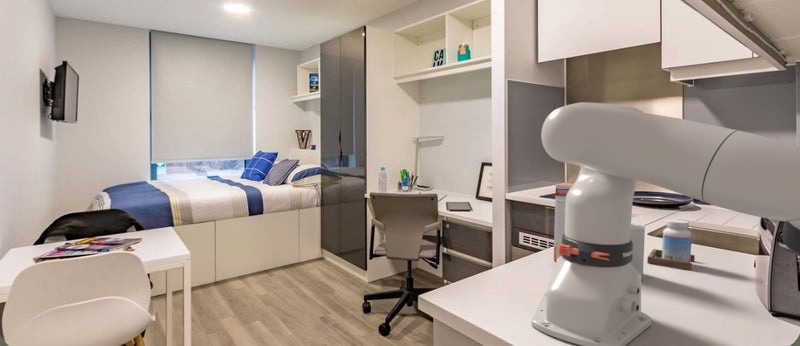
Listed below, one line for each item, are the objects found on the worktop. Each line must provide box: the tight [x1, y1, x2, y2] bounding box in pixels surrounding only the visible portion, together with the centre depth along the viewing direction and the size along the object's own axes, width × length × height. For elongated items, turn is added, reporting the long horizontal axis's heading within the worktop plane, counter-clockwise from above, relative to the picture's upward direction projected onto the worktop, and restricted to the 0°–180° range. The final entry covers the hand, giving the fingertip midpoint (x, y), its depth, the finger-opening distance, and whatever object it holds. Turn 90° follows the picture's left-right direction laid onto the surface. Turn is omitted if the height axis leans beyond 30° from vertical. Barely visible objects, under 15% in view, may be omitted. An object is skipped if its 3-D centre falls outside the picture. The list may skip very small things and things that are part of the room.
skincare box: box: [630, 223, 646, 282], centre depth 93 cm, size 6×4×12 cm
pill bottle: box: [661, 218, 693, 263], centre depth 102 cm, size 6×6×11 cm
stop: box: [647, 248, 696, 271], centre depth 104 cm, size 10×9×2 cm
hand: (762, 157), depth 91 cm, fingers closed
